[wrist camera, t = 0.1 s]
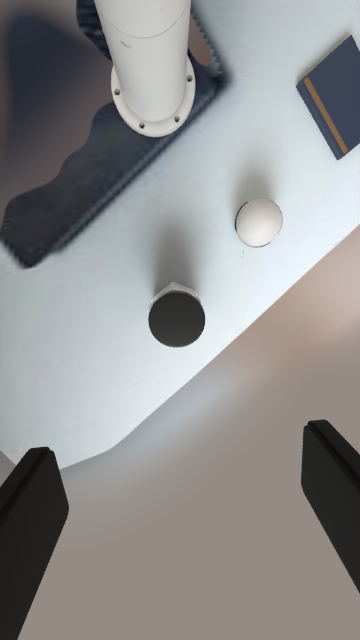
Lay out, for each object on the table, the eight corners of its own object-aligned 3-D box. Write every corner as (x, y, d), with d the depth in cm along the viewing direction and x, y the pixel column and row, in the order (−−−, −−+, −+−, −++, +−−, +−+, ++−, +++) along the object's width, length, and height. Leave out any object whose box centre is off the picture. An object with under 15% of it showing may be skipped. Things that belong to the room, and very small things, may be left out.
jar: (200, 324, 46) (209, 346, 35) (159, 330, 46) (154, 354, 35) (194, 278, 44) (201, 285, 32) (150, 285, 44) (142, 294, 32)
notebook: (295, 87, 37) (299, 81, 36) (345, 41, 36) (351, 34, 34) (337, 160, 40) (342, 157, 38) (385, 120, 38) (391, 116, 37)
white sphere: (246, 194, 41) (262, 180, 34) (280, 220, 42) (301, 212, 35) (213, 245, 43) (221, 242, 35) (245, 268, 44) (259, 270, 37)
